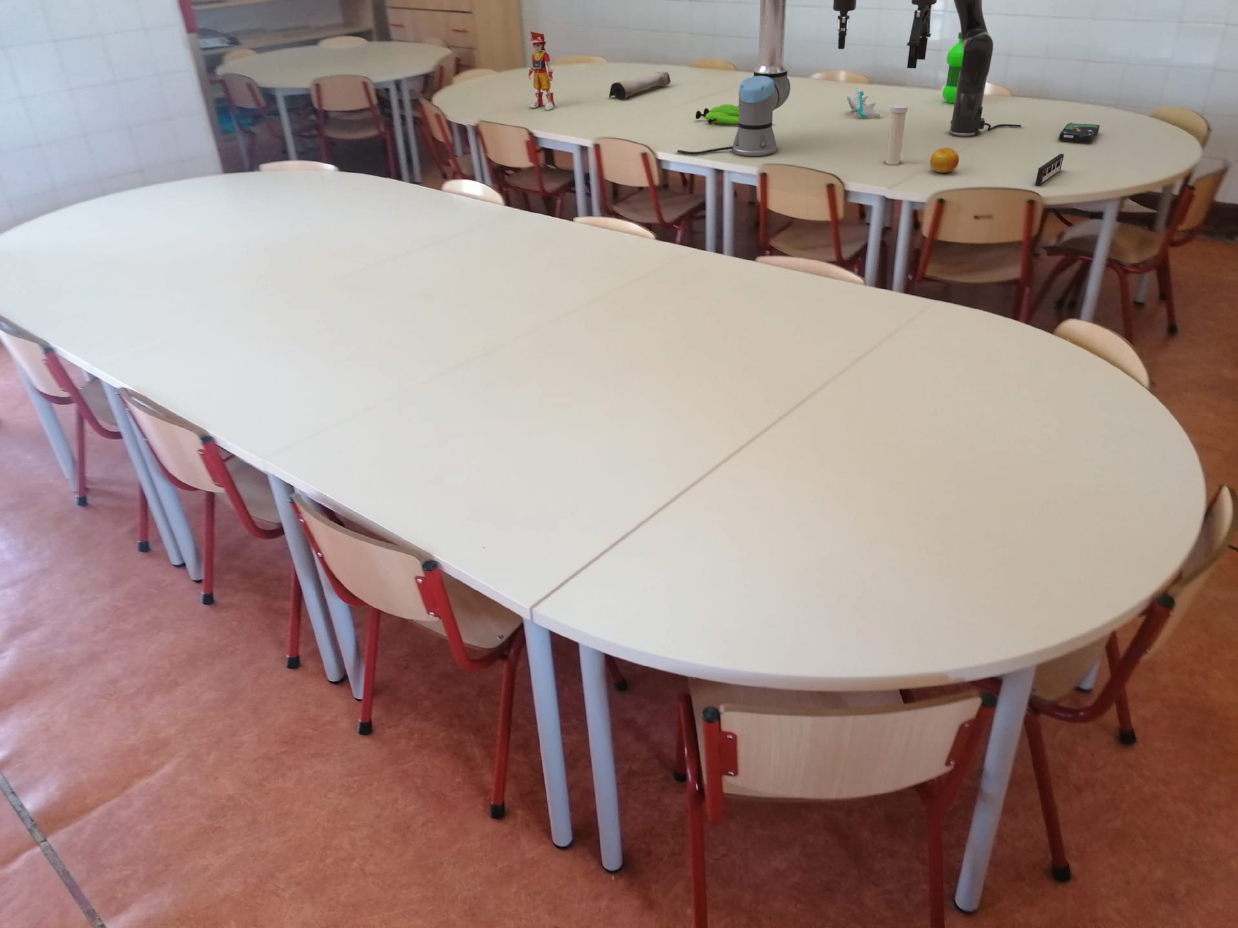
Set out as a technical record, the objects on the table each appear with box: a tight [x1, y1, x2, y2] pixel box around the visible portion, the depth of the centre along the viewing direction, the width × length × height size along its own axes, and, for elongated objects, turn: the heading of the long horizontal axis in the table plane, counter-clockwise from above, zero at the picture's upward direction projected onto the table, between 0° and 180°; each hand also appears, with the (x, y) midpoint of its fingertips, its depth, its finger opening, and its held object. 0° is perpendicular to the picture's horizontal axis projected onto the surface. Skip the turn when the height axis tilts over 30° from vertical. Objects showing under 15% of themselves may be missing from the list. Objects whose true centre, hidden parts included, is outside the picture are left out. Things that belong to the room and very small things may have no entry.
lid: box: [889, 103, 909, 113], centre depth 286 cm, size 5×5×2 cm
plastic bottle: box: [942, 31, 963, 104], centre depth 348 cm, size 10×10×25 cm
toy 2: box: [695, 103, 739, 125], centre depth 347 cm, size 28×5×30 cm
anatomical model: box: [846, 87, 881, 119], centre depth 344 cm, size 15×10×10 cm
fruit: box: [929, 147, 960, 174], centre depth 283 cm, size 8×8×8 cm
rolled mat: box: [608, 71, 672, 101], centre depth 395 cm, size 30×9×10 cm
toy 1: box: [527, 31, 556, 111], centre depth 374 cm, size 12×9×30 cm
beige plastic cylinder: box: [885, 111, 907, 166], centre depth 290 cm, size 4×4×17 cm
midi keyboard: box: [1035, 153, 1065, 186], centre depth 273 cm, size 18×1×5 cm, turn 138°
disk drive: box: [1058, 122, 1101, 144], centre depth 307 cm, size 10×3×15 cm
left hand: (916, 64), depth 288 cm, fingers open, 13 cm apart
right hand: (841, 46), depth 311 cm, fingers open, 8 cm apart
